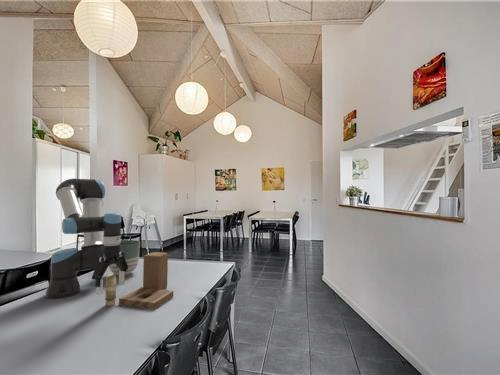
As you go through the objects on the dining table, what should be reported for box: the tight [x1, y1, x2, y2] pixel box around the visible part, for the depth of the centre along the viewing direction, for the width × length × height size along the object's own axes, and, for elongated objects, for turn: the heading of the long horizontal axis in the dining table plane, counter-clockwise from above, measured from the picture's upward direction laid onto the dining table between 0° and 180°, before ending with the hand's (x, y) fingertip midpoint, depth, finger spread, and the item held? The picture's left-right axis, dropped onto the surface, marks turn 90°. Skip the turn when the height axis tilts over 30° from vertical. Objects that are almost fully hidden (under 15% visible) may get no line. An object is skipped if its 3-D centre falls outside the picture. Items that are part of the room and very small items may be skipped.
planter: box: [108, 239, 141, 276], centre depth 172 cm, size 20×20×21 cm
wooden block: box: [142, 251, 169, 290], centre depth 144 cm, size 10×10×20 cm
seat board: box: [118, 286, 174, 310], centre depth 128 cm, size 20×16×3 cm
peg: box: [105, 273, 117, 307], centre depth 123 cm, size 5×5×14 cm
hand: (111, 288), depth 123 cm, fingers open, 13 cm apart
